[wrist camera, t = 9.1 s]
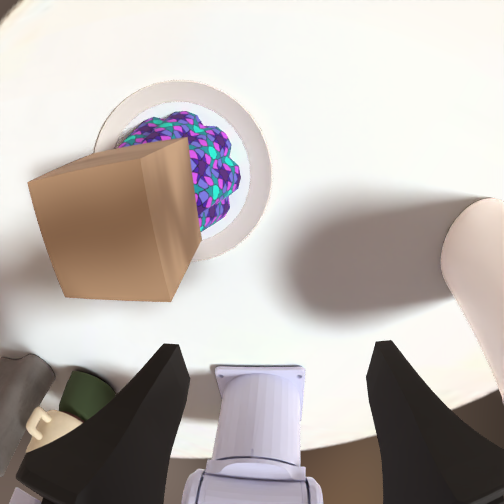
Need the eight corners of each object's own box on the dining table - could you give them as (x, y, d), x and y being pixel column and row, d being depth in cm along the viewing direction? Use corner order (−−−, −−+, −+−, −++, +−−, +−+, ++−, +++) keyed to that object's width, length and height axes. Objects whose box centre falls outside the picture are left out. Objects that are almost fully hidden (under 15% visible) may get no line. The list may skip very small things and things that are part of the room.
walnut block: (201, 239, 15) (170, 301, 10) (114, 243, 15) (65, 297, 11) (187, 136, 12) (140, 158, 8) (93, 153, 13) (27, 182, 9)
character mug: (51, 351, 29) (1, 433, 17) (91, 351, 27) (37, 450, 16) (98, 407, 33) (66, 483, 22) (139, 411, 32) (109, 499, 21)
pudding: (214, 45, 15) (190, 25, 10) (304, 214, 19) (312, 253, 15) (72, 146, 18) (24, 165, 13) (157, 279, 23) (131, 323, 18)
